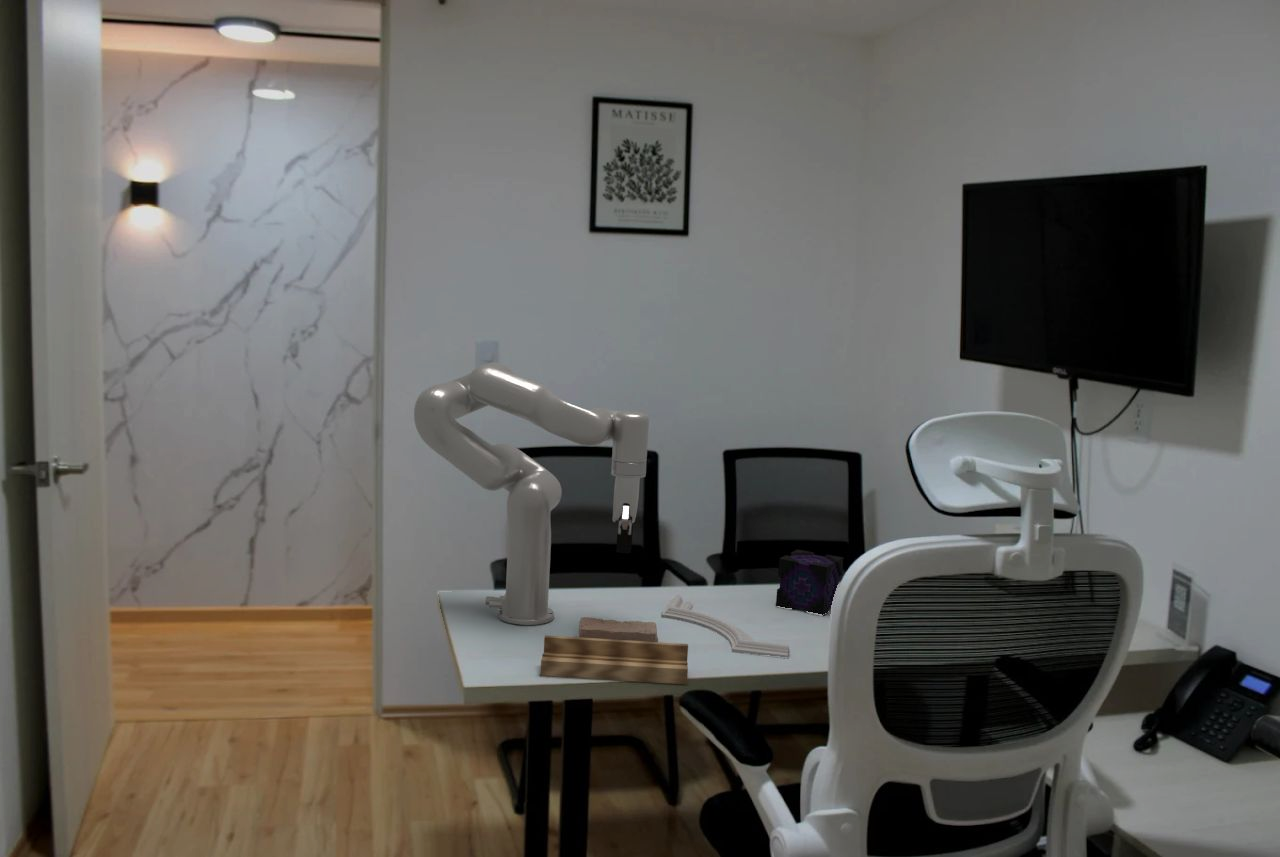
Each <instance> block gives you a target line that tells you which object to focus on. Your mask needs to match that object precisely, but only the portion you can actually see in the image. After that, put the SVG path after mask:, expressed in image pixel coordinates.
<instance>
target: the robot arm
mask: <svg viewBox="0 0 1280 857" xmlns="http://www.w3.org/2000/svg"><path fill="white" fill-rule="evenodd" d="M414 404H415V405H414V410H413V419H414V420H413V421H414V426H415V428H416V431H417V434H418V435H419V437H420V438H421V440H422V441H423V442H424V443H425V445H427V446H428V447H429V448H430V449H431V450H432V451H434V452H435V453H436V454H438V455H439V456H440V457H442V458H443V459H445V461H448V462H449V463H450V464H451V465H452V466H454V467H455V468H456V469H457V470H459V471H460V472H461V473H463V474H464V475H465V476H467V477H468V478H470V479H471V480H472V481H473V482H474V483H476V484H477V485H479V486H480V487H481V488H483V490H484V489H485V490H487V491H492V492H495V491H499V490H502V489H504V490H506V491H507V492H508V495H507V500H506V514H507V515H506V516H507V554H506V555H507V558H506V580H505V593H504V595H500V596H498V597H496V596H491V595H490V596H489V595H486V596H485V605H486V606H488V607H489V608H499V609H498V610H497V617H498V618H499V620H501V621H503V622H504V623H508V624H513V625H521V626H522V625H523V626H532V625H533V626H536V625H544V624H547V623H550V622H551V621H553V620H554V619H555V611H554V610H553V608H550V607H549V592H550V591H549V590H550V571H551V570H550V568H551V553H552V552H551V551H552V550H551V547H552V528H551V527H552V526H551V512H552V511H553V509H555V508H556V507H557V506H558V505H559V503H560V501H561V498H562V492H563V491H562V486H561V483H560V482H559V480H558V478H556V476H555V475H554V474H553V473H552V472H550V471H549V470H548V469H546V468H545V467H544V466H542V465H541V464H540V463H538V462H537V461H536V460H534V459H533V458H531V457H530V456H529V455H527V454H526V453H525V452H523V451H522V450H520V449H519V448H517V447H515V446H514V445H510V444H508V443H496V444H491V443H489V442H488V441H486V440H485V439H483V438H482V437H480V436H479V435H477V433H476V432H474V431H472V430H471V429H470V428H467V427H466V426H464V425H463V424H461V423H459V422H458V420H457V419H460V418H463V417H464V416H467V415H469V414H471V413H474V412H476V411H479V410H481V409H483V408H486V407H488V406H489V407H492V408H494V409H496V410H497V409H498V410H500V411H503V412H505V413H508V414H510V415H513V416H516V417H518V418H520V419H524V420H526V421H528V422H530V423H532V424H533V425H535V426H536V427H539V428H540V429H543V430H545V431H547V432H548V433H551V434H553V435H555V436H557V437H559V438H562V439H564V440H567V441H570V442H572V443H576V444H578V445H581V446H585V447H596V446H599V445H601V444H602V443H604V442H607V441H609V442H610V441H612V453H611V454H612V455H611V470H610V475H611V476H613V477H615V480H614V481H615V482H614V487H613V488H614V489H613V504H612V505H613V509H612V522H613V523H616V521H618V529H617V533H616V549H615V550H616V551H615V552H616V553H621V554H631V553H632V544H633V532H634V526H633V523H635V521H636V517H637V512H638V507H639V497H640V480H641V478H645V477H647V476H646V474H647V460H648V459H647V458H648V443H649V442H648V440H649V425H650V424H649V423H650V420H649V416H648V414H646V413H644V412H641V411H635V410H634V411H632V410H624V411H623V410H621V411H620V410H616V409H611V408H607V407H600V406H599V407H593V408H590V409H585V408H583V407H579V406H577V405H574V404H572V403H570V402H567V401H565V400H563V399H561V398H559V397H558V396H556V395H554V393H553V392H551V390H550V389H549V388H548V387H547V386H546V385H544V384H542V383H541V382H538V381H535V380H532V379H530V378H526V377H524V376H523V375H519V374H517V373H514V372H513V371H512V369H511V368H510V367H508V365H506V364H503V363H500V362H490V363H485V364H481V365H478V366H477V367H475V368H474V369H473V370H471V372H470V373H468V374H465V375H463V376H459V377H458V378H455V379H453V380H451V381H448V382H444V383H439V384H435V385H432V386H429V387H428V388H426V389H425V390H423V391H422V392H421V393H420V394H419V395H418V397H417V400H416V401H415V403H414Z"/></svg>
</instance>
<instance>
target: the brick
mask: <svg viewBox="0 0 1280 857" xmlns="http://www.w3.org/2000/svg"><path fill="white" fill-rule="evenodd" d="M578 637H580V638H597V639H613V640H630V641H646V642H659V637H658V631H657V624H656V622H654V621H639V620H635V621H634V620H631V621H630V620H629V621H626V620H625V621H619V620H615V619H603V618H597V617H589V616H584V617H581V618H580V620H579V627H578Z"/></svg>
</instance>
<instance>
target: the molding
mask: <svg viewBox="0 0 1280 857" xmlns="http://www.w3.org/2000/svg"><path fill="white" fill-rule="evenodd" d="M693 606H694V604H693V603H692V602H691V601H685V602H684V600H683V598H682V596H681V595H676V596H675V597H674V598H673V599H672V600H669V602H668V603H667V604H666V606H665V608H664V610H663V611H662V613H661V614H660V618H662V619H663V618H665V619H671V620H675V619H676V621H680V620H681V622H685V623H689V624H692V623H693V625H696V626H700V627H703V628H704V629H705V628H706V629H707V628H708V630H710V631H711V632H714V631H715V633H716V632H717V633H716V634H718V635H720V636H721V637H723V638H724V639H725V640H726V641H727V640H728V641H729V642H728V641H727V642H728V643H729V644H730V647H731V653H737V654H744V653H750V654H749V655H752V654H758V655H757V656H760V655H770V656H780V657H788V658H789V653H790V644H782V643H776V642H775V643H774V642H768V641H767V642H766V641H757V640H754V639H753V637H752V636H750V635H749V634H748V633H747V632H745V631H744V630H742V629H741V628H739V627H738V626H735V625H734V624H731V623H728V622H726V621H724V620H722V619H720V618H717V617H715V616H712V615H710V614H706V613H703V612H699V611H695V610H692V609H693Z"/></svg>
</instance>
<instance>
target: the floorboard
mask: <svg viewBox="0 0 1280 857" xmlns="http://www.w3.org/2000/svg"><path fill="white" fill-rule="evenodd" d="M688 652H689V644H688V643H677V642H675V643H674V642H663V641H662V642H659V641H658V642H646V641H630V640H613V639H597V638H580V637H579V636H578V637H577V636H576V637H575V636H562V635H561V636H560V635H559V636H558V635H546V634H545V635H544V640H543V653H542V657H541V660H540V676H542V677H544V676H545V677H559V678H561V677H562V678H574V679H577V678H578V679H589V680H591V679H594V680H605V681H606V680H609V681H610V680H611V681H626V682H637V683H638V682H640V683H641V682H642V683H653V684H654V683H658V684H672V685H673V684H676V685H688V674H689V672H688V670H689V667H688V665H689V664H688V656H689V655H688Z"/></svg>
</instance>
